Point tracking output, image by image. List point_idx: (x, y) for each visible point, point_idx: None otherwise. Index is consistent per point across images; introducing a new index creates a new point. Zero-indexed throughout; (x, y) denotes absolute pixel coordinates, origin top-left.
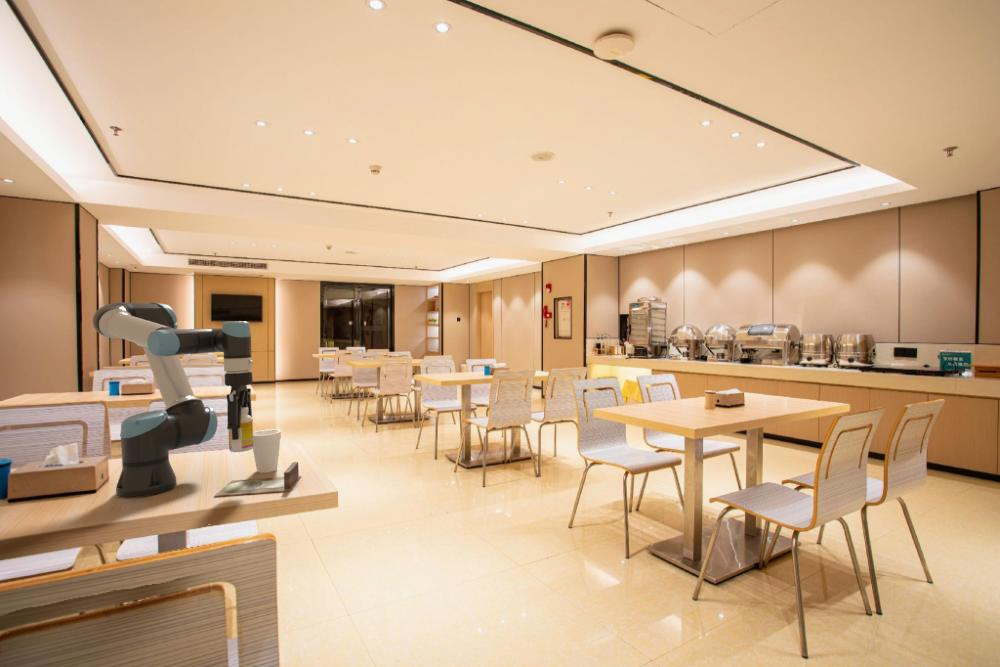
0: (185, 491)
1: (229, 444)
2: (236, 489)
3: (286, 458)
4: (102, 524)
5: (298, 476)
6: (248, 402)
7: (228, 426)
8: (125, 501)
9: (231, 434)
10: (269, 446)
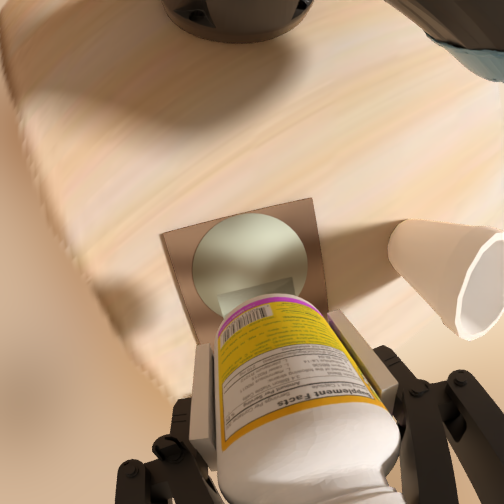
0: (217, 97)
1: (230, 330)
2: (219, 270)
3: None
4: (11, 95)
5: None
6: (484, 500)
7: (122, 472)
8: (141, 3)
9: (192, 410)
10: (432, 305)
